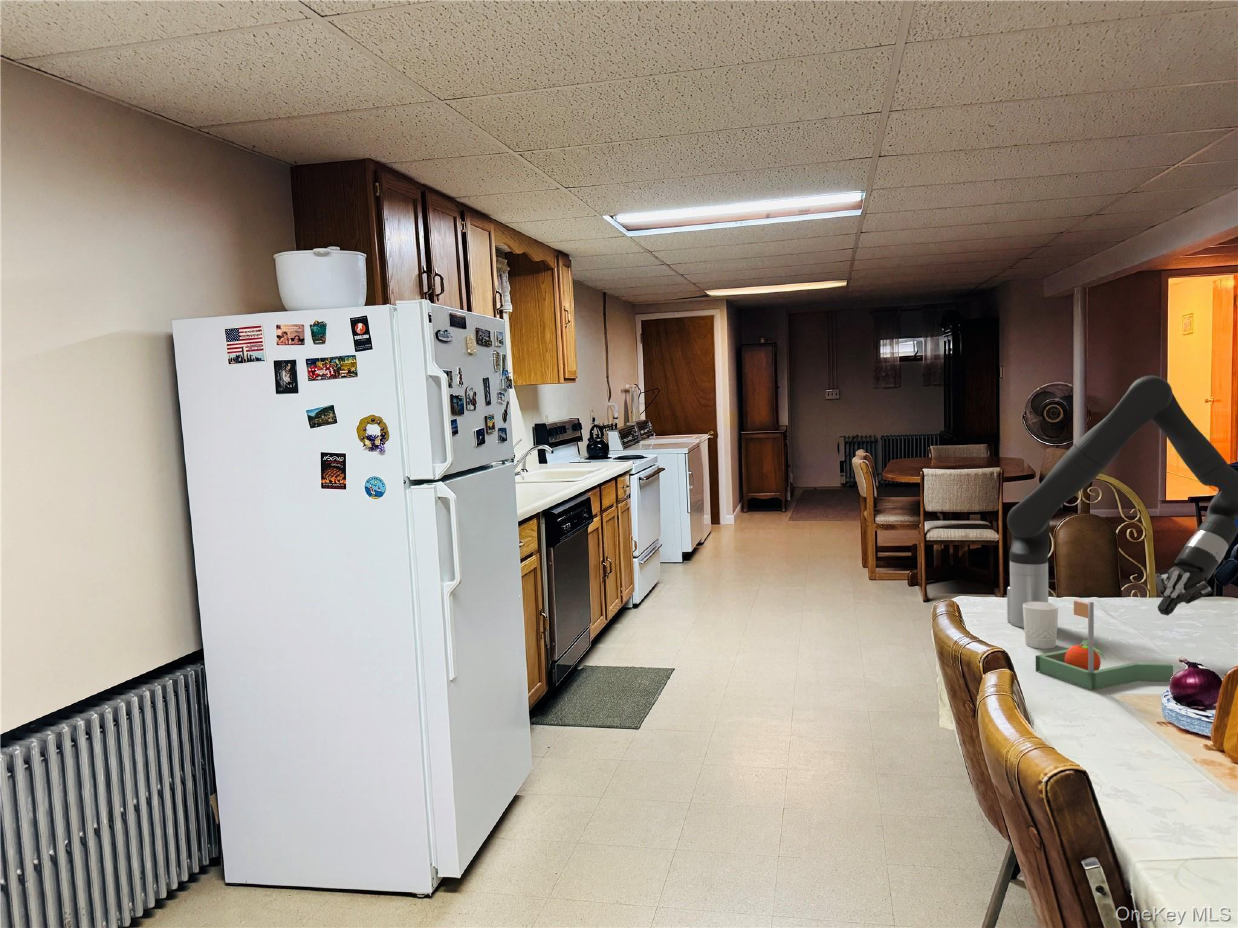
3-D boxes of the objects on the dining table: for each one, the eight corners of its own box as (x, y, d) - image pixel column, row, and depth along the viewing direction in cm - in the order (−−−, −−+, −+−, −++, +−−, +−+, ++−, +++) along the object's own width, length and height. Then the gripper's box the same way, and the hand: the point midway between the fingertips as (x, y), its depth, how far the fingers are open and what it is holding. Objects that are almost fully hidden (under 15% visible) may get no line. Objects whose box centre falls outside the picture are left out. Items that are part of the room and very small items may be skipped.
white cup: (1044, 651, 202) (1044, 611, 201) (1015, 644, 209) (1015, 604, 208) (1065, 646, 206) (1065, 606, 205) (1036, 638, 213) (1036, 600, 212)
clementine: (1109, 676, 183) (1109, 644, 183) (1101, 684, 178) (1101, 651, 178) (1069, 669, 189) (1069, 638, 188) (1060, 677, 184) (1060, 645, 183)
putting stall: (1022, 665, 193) (1021, 586, 191) (1085, 653, 199) (1085, 576, 198) (1107, 695, 172) (1107, 607, 171) (1175, 681, 179) (1175, 595, 177)
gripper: (1166, 540, 200) (1128, 596, 197) (1222, 549, 188) (1182, 609, 185) (1181, 560, 202) (1144, 616, 199) (1238, 570, 190) (1199, 630, 187)
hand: (1162, 612), depth 192 cm, fingers closed
